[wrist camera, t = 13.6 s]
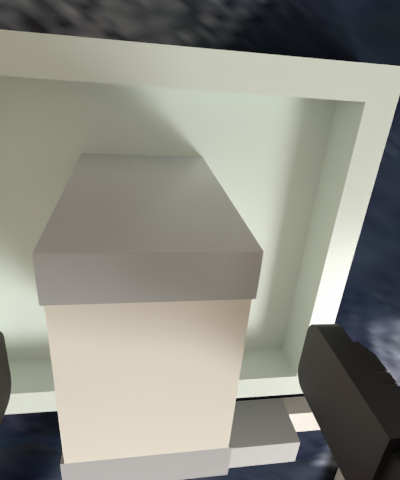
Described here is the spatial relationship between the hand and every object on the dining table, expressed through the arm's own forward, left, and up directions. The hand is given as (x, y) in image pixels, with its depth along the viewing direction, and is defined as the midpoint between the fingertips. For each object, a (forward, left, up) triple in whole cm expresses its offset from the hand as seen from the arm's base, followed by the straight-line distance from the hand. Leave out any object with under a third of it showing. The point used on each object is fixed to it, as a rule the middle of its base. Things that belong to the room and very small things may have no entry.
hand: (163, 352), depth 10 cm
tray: (0, 0, -8) cm, 8 cm away
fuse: (0, 0, -7) cm, 7 cm away
